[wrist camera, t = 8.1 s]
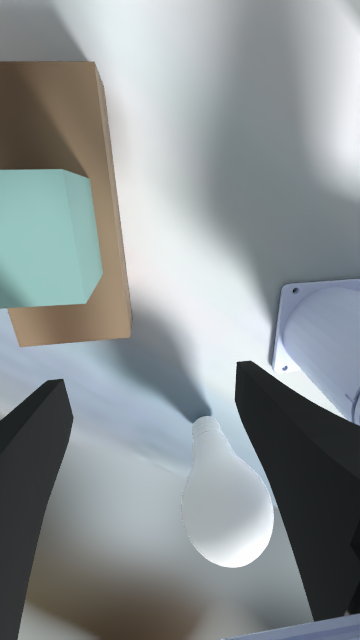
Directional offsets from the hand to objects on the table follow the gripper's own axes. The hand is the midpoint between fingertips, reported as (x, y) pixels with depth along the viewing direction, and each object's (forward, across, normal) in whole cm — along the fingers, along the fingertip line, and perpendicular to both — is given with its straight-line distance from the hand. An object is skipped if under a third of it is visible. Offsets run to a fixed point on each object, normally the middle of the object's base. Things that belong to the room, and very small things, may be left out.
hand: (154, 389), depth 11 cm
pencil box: (+10, +5, -6) cm, 13 cm away
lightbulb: (+10, -4, +12) cm, 16 cm away
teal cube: (+7, +5, -6) cm, 10 cm away
